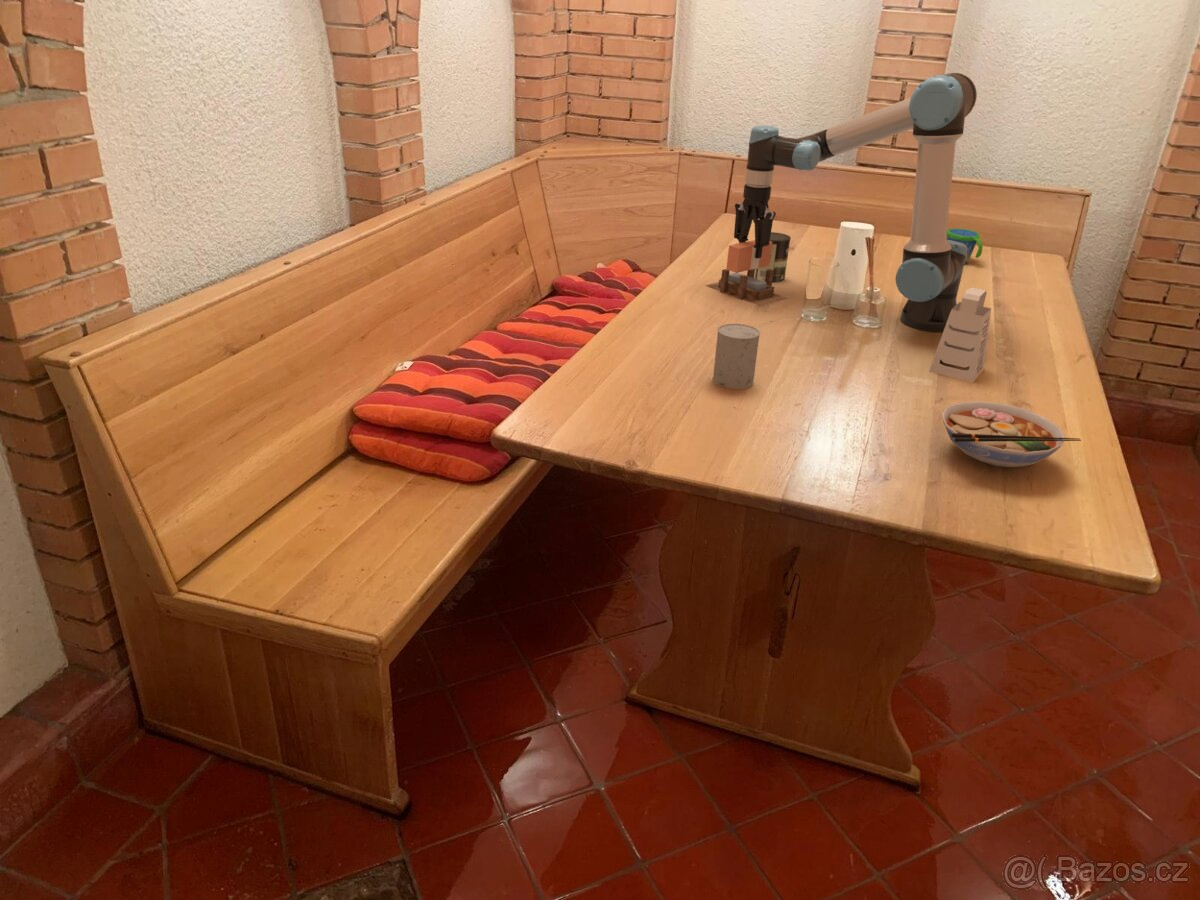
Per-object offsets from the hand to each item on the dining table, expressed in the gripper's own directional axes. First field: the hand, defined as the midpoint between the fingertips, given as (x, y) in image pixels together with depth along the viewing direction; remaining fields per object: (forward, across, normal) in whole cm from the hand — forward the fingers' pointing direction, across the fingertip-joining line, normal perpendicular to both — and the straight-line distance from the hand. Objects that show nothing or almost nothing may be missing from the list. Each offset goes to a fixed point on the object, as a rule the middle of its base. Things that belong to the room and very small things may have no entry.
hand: (748, 266), depth 264 cm
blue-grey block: (+8, 0, 0) cm, 8 cm away
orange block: (0, 0, 0) cm, 0 cm away
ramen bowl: (+9, -99, +35) cm, 106 cm away
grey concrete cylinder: (+9, -42, +50) cm, 66 cm away
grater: (+9, -69, -1) cm, 70 cm away
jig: (+9, 0, 0) cm, 9 cm away
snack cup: (+9, -15, -90) cm, 92 cm away
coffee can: (+9, +6, -17) cm, 20 cm away
